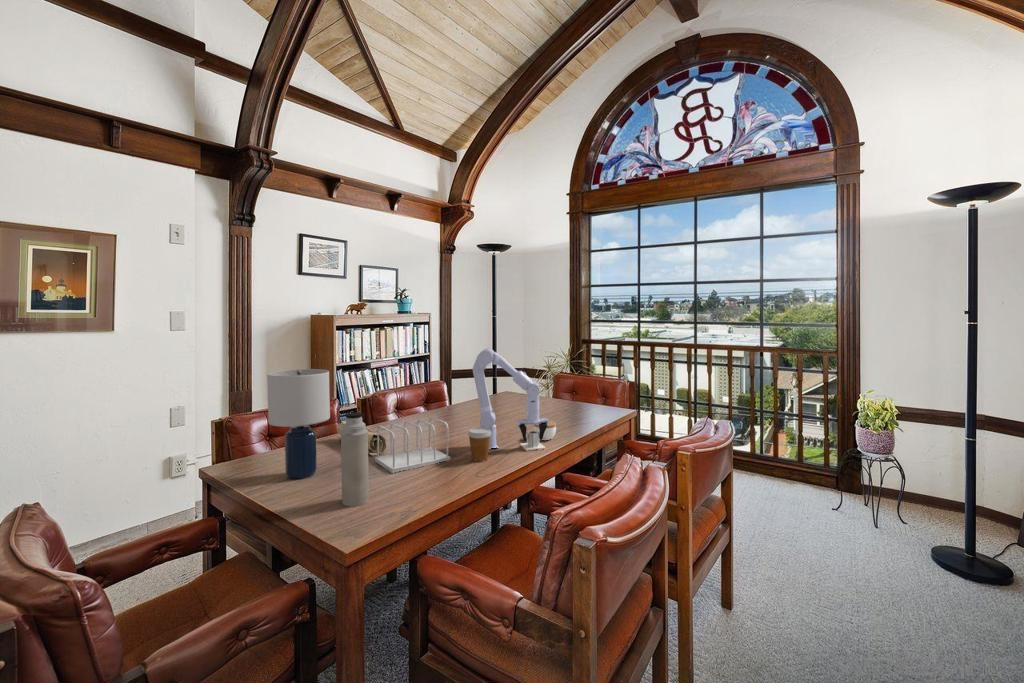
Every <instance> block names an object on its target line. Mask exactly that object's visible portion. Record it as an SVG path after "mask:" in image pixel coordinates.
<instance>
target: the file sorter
mask: <svg viewBox="0 0 1024 683" xmlns="http://www.w3.org/2000/svg"><path fill="white" fill-rule="evenodd" d="M432 420H433V421H434V420H435V421H437V422H440V423H442V424H444V425H445V426H446V453H444V452H442V451H440V450H438V449H437V448H436V429H435V428H436V427H435V426H434V425H433V423H431V421H432ZM419 422H421V423H424V424H426V425H428V447H423V429H422V427H421V426H420V425H419ZM406 424H408V425H411V426H413V427H416V449H412V450H411V449H410V434H409V430H408V429H407V428H406V426H407V425H406ZM393 426H394V427H397V428H400V429H403V451H400V452H396V445H395V444H396V440H395V439H396V437H395V434H394V432H393V430H392V428H393ZM380 428H381V429H383V430H384V431H387V432H389V440H390V441H389V442H390V443H389V444H390V454H385V455H379V453H380V451H379V434H380ZM431 428H432V429H433V447H432V446H431ZM449 429H450V428H449V424H448V423H447V422H446V421H443V420H441V419H438V418H436V417H432V416H431V417H430V418H429V419H428V421H424V420H422V419H418V420H417V421H416V424H415V423H414V422H410V421H405V422H404V424H403V426H401V425H398V424H396V423H391V424H390V426H389V429H388V428H386V427H385V426H382V425H378V426H377V431H376V432H377V456H374V462H375V463H376V464H378V465H380V466H381V467H383V468H384V469H385V470H387V471H388V472H389V473H391V474H395V472H396V473H400V472H399V471H401V472H404V471H403V470H406V471H409V470H408V469H410V470H413V469H412V468H415V469H418V468H417V467H420V468H422V467H421V466H424V467H426V466H425V465H429V464H433V465H435V464H434V463H438V464H440V463H439V462H442V461H447V460H450V461H451V456H449V436H450V435H449V434H450V432H449ZM419 432H420V448H419ZM406 438H407V439H406ZM406 442H407V443H406ZM406 446H407V448H406ZM406 449H407V450H406ZM447 462H448V461H447ZM429 466H430V465H429Z"/></svg>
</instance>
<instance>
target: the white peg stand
mask: <svg viewBox="0 0 1024 683" xmlns="http://www.w3.org/2000/svg"><path fill="white" fill-rule="evenodd" d="M520 445H521V446H522V447H524V448H525V449H526V450H531V449H542V448H547V447H546V446H545V445H543V444H542V443H541V442H540V441H539V447H528V446H527V442H523V443H522V442H521V443H520ZM521 446H520V447H521ZM522 447H521V448H522Z"/></svg>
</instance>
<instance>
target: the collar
mask: <svg viewBox="0 0 1024 683" xmlns="http://www.w3.org/2000/svg"><path fill="white" fill-rule="evenodd" d="M539 442H540V440H539V432H538V431H534V430H528V431H526V443H527V446H528V447H539Z"/></svg>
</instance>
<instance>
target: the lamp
mask: <svg viewBox="0 0 1024 683" xmlns="http://www.w3.org/2000/svg"><path fill="white" fill-rule="evenodd" d="M266 379H267V381H266V383H267V384H266V385H267V413H268V414H267V418H268V421H267V422H268V425H270V426H274V427H279V428H280V427H282V428H285V427H286V428H289V427H290V428H289V430H288V431H287V432H286V433H285V434H284V453H285V454H284V455H285V456H284V457H285V458H284V459H285V462H284V464H285V474H286V476H287V477H288V479H292V480H301V479H307V478H310V477H312V476H314V475H315V474H316V472H317V468H318V466H317V463H318V462H317V434H316V431H315V430H314V429H312V428H311V426H312V425H317V424H320V423H324V422H326V421H329V419H331V406H330V405H331V403H330V400H331V399H330V371H329V370H328V369H321V368H316V369H315V368H302V369H301V368H300V369H286V370H276V371H272V372H271V371H270V372H268V373H267V374H266ZM310 425H311V426H310Z"/></svg>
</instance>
